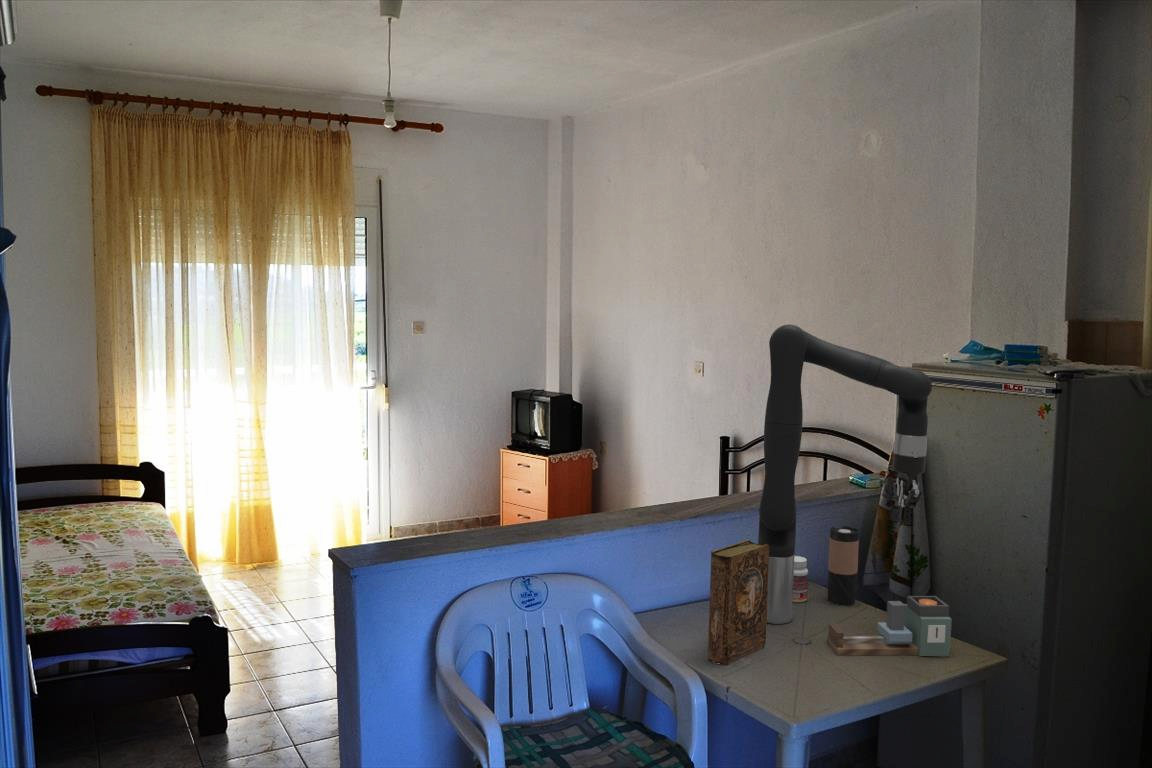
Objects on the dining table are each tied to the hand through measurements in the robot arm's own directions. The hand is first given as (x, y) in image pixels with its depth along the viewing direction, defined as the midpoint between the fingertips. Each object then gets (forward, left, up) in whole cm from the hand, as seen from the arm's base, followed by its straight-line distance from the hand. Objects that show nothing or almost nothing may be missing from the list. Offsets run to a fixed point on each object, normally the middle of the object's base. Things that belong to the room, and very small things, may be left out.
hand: (904, 521), depth 223 cm
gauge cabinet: (+2, -11, -28) cm, 30 cm away
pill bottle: (-19, +23, -28) cm, 41 cm away
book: (-44, -13, -28) cm, 54 cm away
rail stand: (-11, -11, -28) cm, 32 cm away
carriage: (-5, -11, -26) cm, 29 cm away
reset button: (+2, -11, -18) cm, 21 cm away
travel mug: (-7, +21, -28) cm, 36 cm away
